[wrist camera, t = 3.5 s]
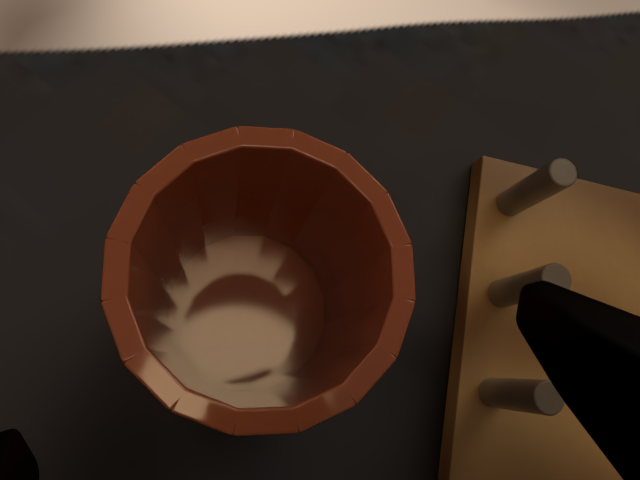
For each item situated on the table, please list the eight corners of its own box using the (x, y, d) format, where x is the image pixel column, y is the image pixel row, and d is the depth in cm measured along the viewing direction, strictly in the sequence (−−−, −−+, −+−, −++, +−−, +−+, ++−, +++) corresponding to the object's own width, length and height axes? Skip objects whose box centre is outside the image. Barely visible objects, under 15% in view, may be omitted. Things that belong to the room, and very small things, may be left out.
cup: (246, 445, 18) (266, 510, 10) (115, 312, 18) (28, 268, 10) (368, 311, 20) (472, 272, 11) (248, 192, 20) (266, 71, 12)
